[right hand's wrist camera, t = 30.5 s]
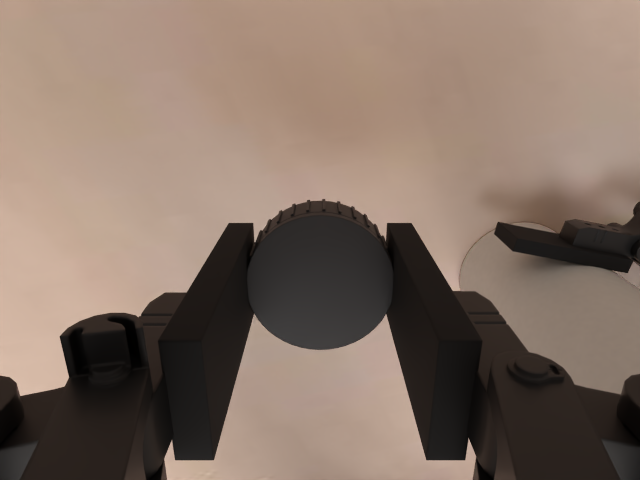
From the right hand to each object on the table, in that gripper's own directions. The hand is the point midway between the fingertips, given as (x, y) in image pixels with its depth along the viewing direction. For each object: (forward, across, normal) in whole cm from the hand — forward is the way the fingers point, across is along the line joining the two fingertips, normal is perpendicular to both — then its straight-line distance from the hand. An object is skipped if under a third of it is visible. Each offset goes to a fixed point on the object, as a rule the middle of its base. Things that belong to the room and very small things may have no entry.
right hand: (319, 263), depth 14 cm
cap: (-1, 0, 0) cm, 1 cm away
